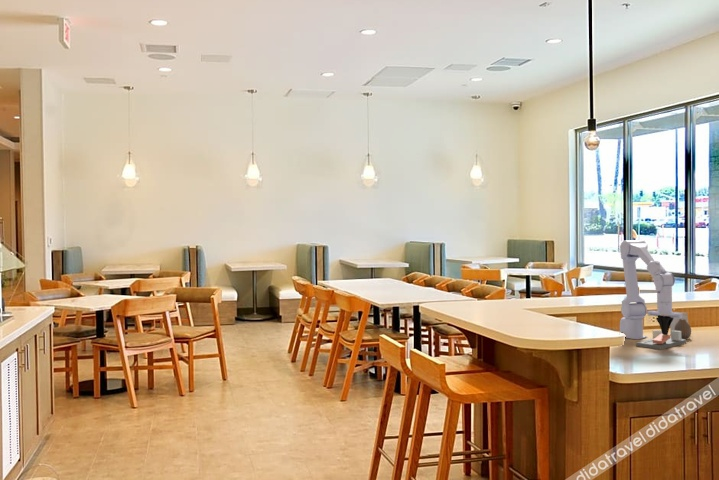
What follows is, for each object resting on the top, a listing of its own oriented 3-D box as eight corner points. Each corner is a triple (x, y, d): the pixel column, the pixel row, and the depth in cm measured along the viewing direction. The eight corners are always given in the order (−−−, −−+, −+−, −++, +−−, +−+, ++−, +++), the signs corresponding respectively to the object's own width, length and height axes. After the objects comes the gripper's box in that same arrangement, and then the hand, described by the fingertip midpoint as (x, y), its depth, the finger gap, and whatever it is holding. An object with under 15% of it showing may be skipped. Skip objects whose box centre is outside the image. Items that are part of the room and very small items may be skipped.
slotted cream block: (652, 338, 304) (652, 330, 304) (655, 338, 305) (655, 329, 305) (659, 339, 301) (659, 330, 301) (662, 339, 303) (662, 330, 303)
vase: (688, 337, 315) (687, 317, 315) (693, 339, 308) (693, 320, 308) (671, 337, 316) (671, 317, 315) (677, 340, 309) (677, 320, 309)
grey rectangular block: (685, 335, 320) (685, 313, 320) (670, 334, 324) (670, 312, 324) (688, 334, 323) (688, 312, 322) (673, 332, 327) (672, 311, 327)
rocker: (652, 342, 294) (652, 339, 294) (661, 336, 298) (661, 333, 298) (661, 344, 291) (661, 340, 290) (670, 337, 295) (670, 334, 294)
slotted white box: (671, 339, 301) (671, 330, 301) (674, 339, 302) (674, 330, 302) (678, 340, 298) (678, 331, 298) (681, 339, 300) (681, 330, 300)
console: (636, 346, 298) (636, 340, 298) (662, 339, 310) (662, 334, 310) (660, 349, 289) (660, 343, 289) (686, 343, 301) (686, 337, 301)
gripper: (643, 301, 299) (643, 333, 299) (676, 304, 287) (676, 337, 288) (652, 299, 303) (653, 331, 303) (685, 302, 291) (685, 335, 292)
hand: (665, 334), depth 296 cm, fingers closed
